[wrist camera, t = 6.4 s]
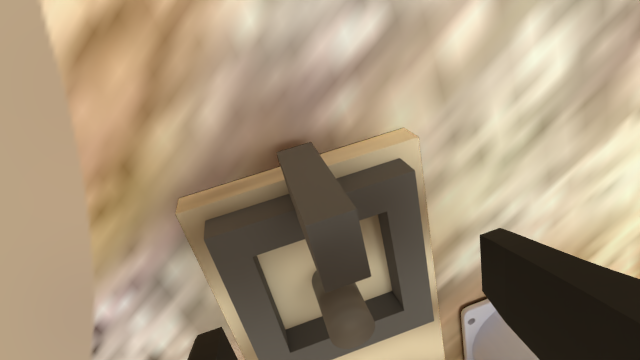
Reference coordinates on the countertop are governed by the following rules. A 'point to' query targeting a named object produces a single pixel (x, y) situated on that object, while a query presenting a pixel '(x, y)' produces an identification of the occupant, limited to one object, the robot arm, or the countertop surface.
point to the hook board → (298, 266)
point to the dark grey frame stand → (325, 251)
